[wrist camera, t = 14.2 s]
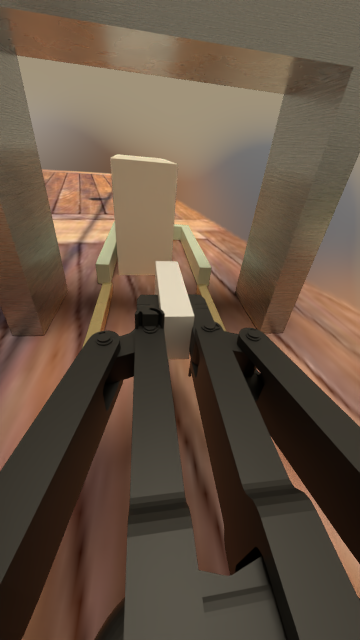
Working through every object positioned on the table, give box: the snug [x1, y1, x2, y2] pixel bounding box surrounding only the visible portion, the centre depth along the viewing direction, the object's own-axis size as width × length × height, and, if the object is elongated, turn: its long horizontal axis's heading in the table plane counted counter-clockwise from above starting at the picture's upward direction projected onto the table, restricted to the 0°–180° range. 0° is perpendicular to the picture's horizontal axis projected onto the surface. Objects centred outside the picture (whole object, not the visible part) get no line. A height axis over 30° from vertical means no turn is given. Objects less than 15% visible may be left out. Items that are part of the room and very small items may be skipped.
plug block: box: [110, 154, 178, 275], centre depth 34 cm, size 15×7×13 cm, turn 10°
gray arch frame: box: [0, 0, 360, 348], centre depth 17 cm, size 14×25×21 cm, turn 97°
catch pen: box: [96, 221, 211, 286], centre depth 38 cm, size 20×14×2 cm
